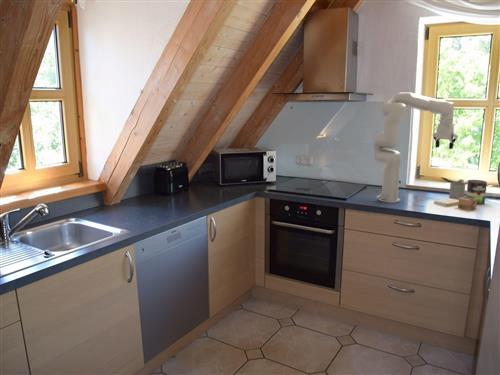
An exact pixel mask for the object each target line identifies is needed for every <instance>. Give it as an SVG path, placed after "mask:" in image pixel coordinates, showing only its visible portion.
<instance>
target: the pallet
mask: <svg viewBox="0 0 500 375" xmlns="http://www.w3.org/2000/svg"><path fill="white" fill-rule="evenodd" d="M454 209H455V210H459V211H463V212H467V213H469V212H474V211H479V210H480V208H478V207H476V209H475V210H470V211H468V210H464V209H460V208H458V206H457V207H454Z"/></svg>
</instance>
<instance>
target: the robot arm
mask: <svg viewBox="0 0 500 375" xmlns="http://www.w3.org/2000/svg"><path fill="white" fill-rule="evenodd" d="M407 108H412V109H416V110H419V111H424V112H425V111H426V112H429V113H432V114H434V115H440V116H439V119H438V122H439V123H438V124H437V128H436V132H435V133H433V134H432V136H433V139H434V142H435V148H440V140H448V141H449V144H448V149H449V150H452V149H454V143H455V142H456V141H457V140H458V138H459V136H458V135H457V133H456V134H455V127H454V126H455V125H454V123H453V122H454V121H453V120H454V111H455V102H452V101H447V100H444V99H438V98H435V97H434V98H433V97H429V96H425V95H421V94H418V93H413V92H398V93H396V94H395V95H393V96H392V97H390V98H388V100H386V101H385V102H384V103H383V104H381V107H380V113H381V114H382V116H384V117H386V118H385V119H384V121H383V125H382V127H383V130H382V131H379V132H376V134H375V136H374V139H373V150H374V151H373V152H374V159H375V161H376V162H377V163H378V164H381V165H385V166H384V168H383V171H382V183H381V184H382V186H381V193H380V195H376V196H375V198H376V199H378V200H379V201H380V202H382V203H390V204H391V203H392V204H393V203H400V202H401V198H399V182H400V171H401V170H400V168H401V165H402V161H403V155H402V153H401V152H399V151H398V150H396V149H395V148H396V147H398V145H399V138H400V137H399V123H400V121H401V120H402V119H403V117H404V116H405V114H407V113H406V112H407Z"/></svg>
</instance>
